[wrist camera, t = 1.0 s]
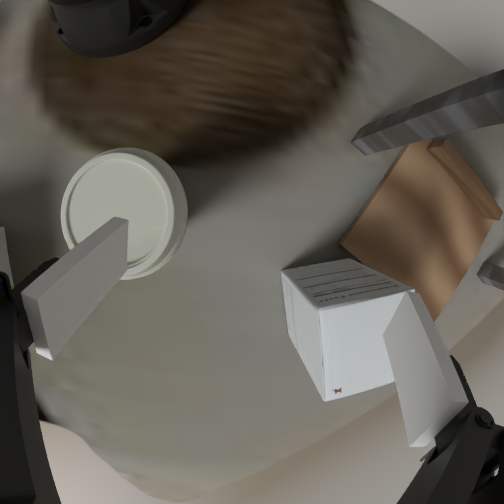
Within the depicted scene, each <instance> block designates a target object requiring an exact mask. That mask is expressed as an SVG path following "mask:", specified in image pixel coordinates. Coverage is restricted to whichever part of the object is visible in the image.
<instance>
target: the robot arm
mask: <svg viewBox="0 0 504 504" xmlns="http://www.w3.org/2000/svg"><path fill="white" fill-rule="evenodd" d="M48 2H49V7H50V12H51V16H52V21H53V25H54V29H55V31H56V33H57V35H58V37H59V38H60V39H61V40H62V41H63V42H64V43H65V44H66V45H67V46H68V47H69V48H70V49H71V50H72V51H74V52H76V53H78V54H80V55H83V56H88V57H110V56H115V55H120V54H123V53H126V52H129V51H132V50H134V49H137V48H139V47H141V46H143V45H145V44H147V43H148V42H150V41H152V40H153V39H155V38H156V37H158V36H159V35H160V34H161V33H163V32H164V31H165V30H166V29H167V28H168V27H169V26H170V25H171V24H172V23H173V22H174V21H175V20H176V18H177V17H178V16H179V14H180V12H181V11H182V9H183V7H184V4H185V2H186V0H48ZM128 223H129V220H127V219H123V218H119V217H115V216H114V217H113V218H112V219H110V220H109V221H108V222H106V223H105V224H104V225H102V226H101V227H100V228H98V229H97V230H96V231H94V232H93V233H92V234H90V235H89V236H88V237H87V238H85V239H84V240H83V241H81V242H80V243H79V244H78V245H76V246H75V247H74V248H73V249H71V250H70V251H69V252H68V253H66V254H65V255H64V256H63V257H62V258H60V259H59V258H56V257H55V258H53V259H51V260H48V261H46V262H44V263H43V264H42V265H40V266H39V267H38V268H37V270H34V271H33V272H32V273H31V274H30V275H28V276H27V277H26V278H25V279H24V280H22V281H21V282H20V283H19V284H18V285H17V286H15V287H14V288H13V289H12V288H11V284H10V279H9V276H8V275H7V274H6V273H4V272H1V271H0V504H61V501H60V498H59V495H58V493H57V489H56V486H55V483H54V480H53V476H52V473H51V469H50V466H49V462H48V458H47V454H46V450H45V446H44V442H43V437H42V432H41V428H40V422H39V417H38V412H37V406H36V400H35V393H34V386H33V378H32V369H31V359H30V352H29V349H28V348H29V346H30V345H31V344H32V343H33V342H34V345H35V348H36V351H37V353H38V354H40V355H42V356H44V357H46V358H48V359H50V360H52V361H53V360H54V358H55V357H56V356H57V355H58V353H59V352H60V351H61V349H62V348H63V347H64V346H65V344H66V343H67V342H68V340H69V339H70V338H71V337H72V335H73V334H74V333H75V332H76V330H77V329H78V328H79V327H80V326H81V324H82V323H83V322H84V321H85V319H86V318H87V317H88V316H89V315H90V313H91V312H92V311H93V310H94V309H95V307H96V306H97V305H98V304H99V303H100V301H101V300H102V299H103V298H104V297H105V296H106V294H107V293H108V292H109V291H110V290H111V289H112V287H113V286H114V285H115V284H116V283H117V282H118V280H119V279H120V278H121V277H122V276H123V275H124V274H125V273H126V271H127V247H128ZM383 338H384V342H385V345H386V349H387V353H388V356H389V360H390V364H391V368H392V372H393V376H394V380H395V384H396V388H397V392H398V396H399V401H400V404H401V409H402V413H403V418H404V423H405V428H406V433H407V438H408V443H409V447H425V446H426V445H427V444H428V443H429V442H430V441H432V440H433V439H434V438H435V442H436V446H435V447H434V448H432V449H431V450H430V451H429V452H428V453H427V454H426V455H425V456H423V457H422V458H421V459H420V461H421V462H422V461H423V460H424V459H425V461H424V463H423V465H422V466H421V468H420V469H419V471H418V473H417V474H416V476H415V477H414V479H413V480H412V482H411V484H410V485H409V487H408V488H407V490H406V491H405V493H404V494H403V495H402V497H401V498H400V500H399V501H398V502H397V504H504V427H503V426H500V425H496V424H495V422H494V419H493V417H492V416H491V414H490V413H489V412H488V411H487V410H485V409H483V408H481V407H477V405H476V402H475V400H474V398H473V395H472V392H471V390H470V388H469V385H468V383H466V378H465V376H464V375H463V372H462V369H461V367H460V364H459V363H458V362H457V361H456V360H455V358H454V357H453V356H451V355H449V353H448V351H447V349H446V347H445V344H444V342H443V340H442V338H441V336H440V334H439V332H438V330H437V327H436V325H435V323H434V321H433V319H432V317H431V315H430V313H429V311H428V309H427V307H426V305H425V303H424V301H423V300H422V298H421V296H420V294H419V293H415V292H411V291H407V290H406V292H405V294H404V296H403V298H402V300H401V302H400V304H399V306H398V308H397V309H396V311H395V313H394V315H393V317H392V319H391V321H390V323H389V324H388V326H387V328H386V330H385V332H384V333H383ZM498 468H499V471H498V474H497V475H496V476H494V472H495V470H496V469H498Z"/></svg>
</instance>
